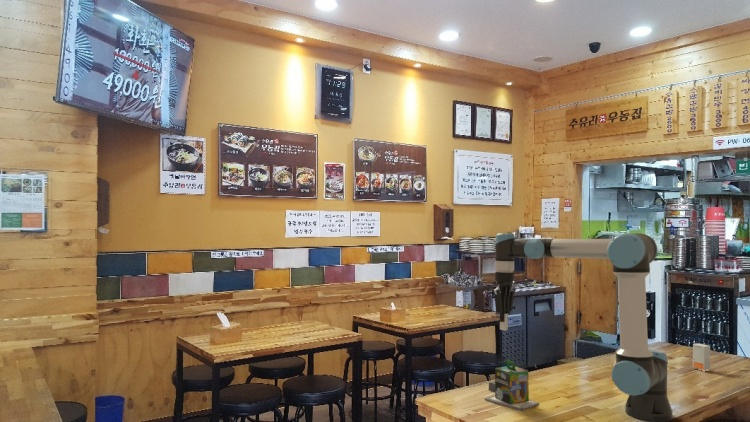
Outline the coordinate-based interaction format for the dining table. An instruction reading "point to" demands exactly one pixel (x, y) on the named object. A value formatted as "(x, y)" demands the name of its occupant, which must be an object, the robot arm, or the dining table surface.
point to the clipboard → (516, 406)
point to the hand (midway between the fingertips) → (503, 329)
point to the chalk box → (511, 384)
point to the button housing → (492, 386)
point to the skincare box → (701, 356)
